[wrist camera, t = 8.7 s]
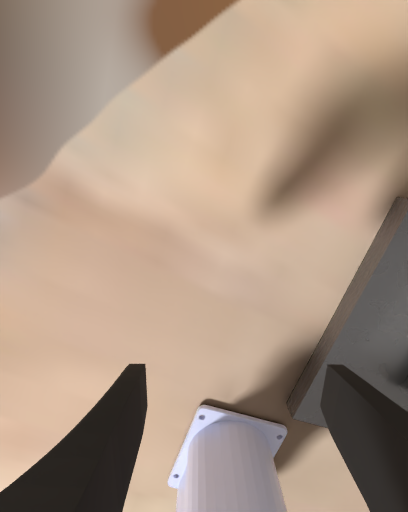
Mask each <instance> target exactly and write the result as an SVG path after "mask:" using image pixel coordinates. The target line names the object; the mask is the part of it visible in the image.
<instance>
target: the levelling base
mask: <svg viewBox="0 0 408 512" xmlns="http://www.w3.org/2000/svg"><path fill="white" fill-rule="evenodd" d="M327 364H343V365H344V366H346V367H347V368H348V369H350V370H351V371H353V372H354V373H355V374H357V375H358V376H360V377H361V378H362V379H364V380H365V381H366V382H368V383H369V384H370V385H372V386H373V387H374V388H376V389H377V390H378V391H380V392H381V393H382V394H384V395H385V396H387V397H388V398H389V399H391V400H392V401H393V402H395V403H396V404H398V405H399V406H400V407H402V408H403V409H405V410H406V411H408V198H400V197H397V198H396V200H395V202H394V204H393V205H392V207H391V209H390V211H389V213H388V215H387V217H386V218H385V220H384V222H383V224H382V226H381V228H380V230H379V232H378V233H377V235H376V237H375V239H374V241H373V243H372V245H371V246H370V248H369V250H368V252H367V254H366V256H365V258H364V259H363V261H362V263H361V265H360V267H359V269H358V271H357V273H356V274H355V276H354V278H353V280H352V282H351V284H350V286H349V287H348V289H347V291H346V293H345V295H344V297H343V299H342V301H341V302H340V304H339V306H338V308H337V310H336V312H335V314H334V315H333V317H332V319H331V321H330V323H329V325H328V327H327V329H326V330H325V332H324V334H323V336H322V338H321V340H320V342H319V343H318V345H317V347H316V349H315V351H314V353H313V355H312V357H311V358H310V360H309V362H308V364H307V366H306V368H305V370H304V371H303V373H302V375H301V377H300V379H299V381H298V383H297V384H296V386H295V388H294V390H293V392H292V394H291V396H290V398H289V399H288V401H287V403H286V404H287V406H288V409H289V411H290V414H291V417H292V419H295V420H299V421H303V422H307V423H310V424H314V425H318V426H322V427H325V428H328V426H327V424H326V421H325V418H324V416H323V413H322V410H321V407H320V403H321V397H322V391H323V386H324V380H325V375H326V369H327Z"/></svg>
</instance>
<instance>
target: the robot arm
mask: <svg viewBox="0 0 408 512" xmlns="http://www.w3.org/2000/svg"><path fill="white" fill-rule="evenodd" d="M320 407H321V410H322V413H323V416H324V418H325V421H326V424H327V426H328V429H329V431H330V434H331V436H332V438H333V440H334V442H335V444H336V446H337V448H338V450H339V452H340V453H341V455H342V457H343V459H344V461H345V463H346V465H347V467H348V469H349V471H350V473H351V475H352V477H353V479H354V481H355V482H356V484H357V486H358V488H359V490H360V492H361V494H362V496H363V498H364V500H365V502H366V504H367V506H368V508H369V510H370V512H408V411H406V410H405V409H403V408H402V407H400V406H399V405H398V404H396V403H395V402H393V401H392V400H391V399H389V398H388V397H387V396H385V395H384V394H382V393H381V392H380V391H378V390H377V389H376V388H374V387H373V386H372V385H370V384H369V383H368V382H366V381H365V380H364V379H362V378H361V377H360V376H358V375H357V374H355V373H354V372H353V371H351V370H350V369H348V368H347V367H346V366H344V365H343V364H327V369H326V375H325V380H324V386H323V391H322V397H321V403H320ZM146 412H147V388H146V368H145V364H129V365H128V366H127V367H126V368H125V370H124V371H123V372H122V373H121V375H120V376H119V377H118V379H117V380H116V381H115V382H114V384H113V385H112V386H111V387H110V389H109V390H108V391H107V392H106V393H105V394H104V396H103V397H102V398H101V399H100V400H99V401H98V403H97V404H96V405H95V406H94V407H93V408H92V409H91V411H90V412H89V413H88V414H87V415H86V416H85V417H84V418H83V419H82V420H81V421H80V422H79V423H78V424H77V425H76V426H75V427H74V428H73V429H72V430H71V431H70V432H69V433H68V434H67V435H66V436H65V437H64V438H63V439H62V440H61V441H60V442H59V443H58V444H57V445H56V446H55V447H54V448H53V449H52V450H50V451H49V452H48V453H47V454H46V455H45V456H44V457H43V458H41V459H40V460H39V461H38V462H37V463H36V464H35V465H33V466H32V467H31V468H30V469H29V470H28V471H26V472H25V473H24V474H23V475H21V476H20V477H19V478H18V479H17V480H15V481H14V482H13V483H12V484H10V485H9V486H8V487H7V488H5V489H4V490H3V491H1V492H0V512H122V511H123V506H124V502H125V499H126V495H127V491H128V488H129V484H130V480H131V477H132V473H133V469H134V465H135V462H136V458H137V454H138V451H139V447H140V443H141V439H142V435H143V430H144V424H145V418H146ZM200 415H203V416H200ZM286 435H287V428H286V427H285V426H284V425H281V424H277V423H274V422H270V421H266V420H262V419H258V418H254V417H250V416H247V415H243V414H239V413H235V412H231V411H227V410H224V409H220V408H216V407H212V406H208V405H201V406H199V407H198V409H197V412H196V414H195V416H194V419H193V421H192V423H191V426H190V428H189V430H188V433H187V435H186V438H185V440H184V442H183V445H182V447H181V449H180V452H179V454H178V456H177V459H176V461H175V463H174V466H173V468H172V471H171V473H170V475H169V478H168V485H169V486H170V487H173V488H177V489H178V490H177V506H176V512H287V509H286V505H285V501H284V498H283V494H282V490H281V486H280V482H279V479H278V475H277V471H276V467H275V463H274V460H273V458H274V456H275V455H276V453H277V451H278V449H279V447H280V446H281V444H282V442H283V440H284V439H285V437H286Z"/></svg>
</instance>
